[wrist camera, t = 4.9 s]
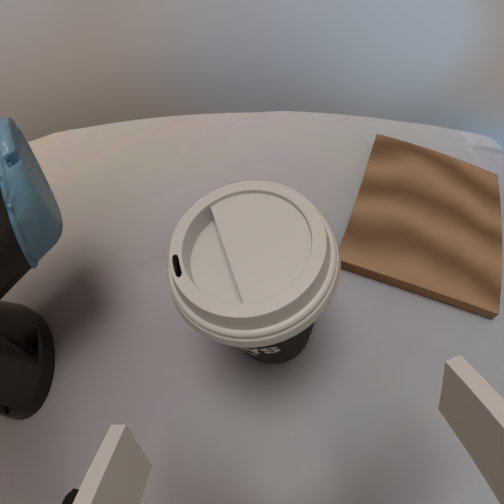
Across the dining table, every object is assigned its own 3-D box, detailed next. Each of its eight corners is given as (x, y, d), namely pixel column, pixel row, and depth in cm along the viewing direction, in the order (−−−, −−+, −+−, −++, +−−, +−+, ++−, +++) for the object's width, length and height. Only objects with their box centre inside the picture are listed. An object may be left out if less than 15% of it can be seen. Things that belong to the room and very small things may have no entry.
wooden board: (491, 319, 24) (498, 314, 23) (334, 266, 30) (335, 258, 29) (493, 182, 32) (497, 175, 31) (375, 142, 38) (376, 133, 37)
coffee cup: (228, 281, 31) (174, 176, 19) (325, 280, 30) (335, 166, 17) (218, 377, 26) (137, 330, 14) (326, 380, 25) (350, 335, 12)
